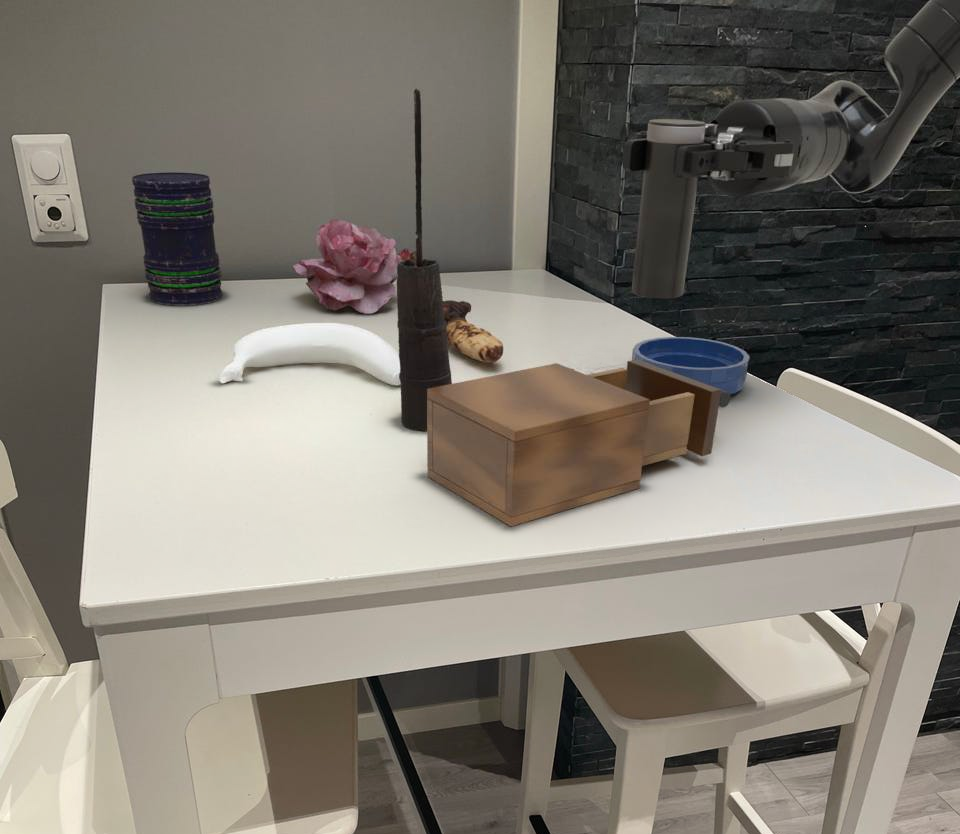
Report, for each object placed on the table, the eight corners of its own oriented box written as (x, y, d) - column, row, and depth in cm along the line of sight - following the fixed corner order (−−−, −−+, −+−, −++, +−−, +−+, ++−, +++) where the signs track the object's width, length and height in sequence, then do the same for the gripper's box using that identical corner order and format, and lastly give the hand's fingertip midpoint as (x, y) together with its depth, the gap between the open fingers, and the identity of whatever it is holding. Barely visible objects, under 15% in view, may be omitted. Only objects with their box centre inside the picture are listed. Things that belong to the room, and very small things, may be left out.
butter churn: (389, 399, 99) (380, 82, 84) (481, 407, 97) (489, 86, 82) (364, 430, 91) (351, 87, 76) (464, 438, 90) (470, 91, 75)
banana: (426, 375, 106) (346, 413, 95) (290, 355, 114) (202, 388, 103) (424, 329, 103) (342, 363, 92) (285, 312, 111) (194, 341, 100)
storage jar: (195, 285, 139) (181, 170, 131) (238, 297, 133) (226, 178, 125) (134, 296, 132) (115, 176, 124) (176, 309, 127) (159, 184, 119)
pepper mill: (694, 295, 83) (718, 123, 76) (657, 301, 80) (677, 124, 74) (657, 284, 86) (676, 118, 79) (620, 290, 84) (636, 120, 77)
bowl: (767, 390, 104) (773, 357, 102) (688, 410, 98) (693, 376, 96) (684, 362, 113) (688, 331, 111) (606, 378, 106) (609, 346, 104)
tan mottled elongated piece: (391, 339, 119) (443, 379, 105) (389, 300, 116) (441, 335, 102) (462, 331, 122) (521, 368, 108) (461, 292, 119) (521, 325, 105)
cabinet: (551, 445, 89) (556, 362, 85) (639, 488, 81) (650, 399, 77) (427, 476, 82) (426, 388, 78) (510, 526, 74) (515, 431, 70)
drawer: (660, 412, 95) (668, 352, 92) (742, 444, 88) (753, 381, 85) (527, 445, 86) (530, 380, 83) (606, 484, 79) (613, 415, 76)
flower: (270, 276, 132) (283, 203, 126) (360, 278, 141) (376, 210, 135) (325, 331, 125) (342, 256, 118) (416, 330, 134) (436, 260, 128)
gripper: (703, 93, 88) (585, 98, 78) (850, 104, 80) (740, 111, 70) (691, 183, 92) (578, 200, 82) (830, 202, 84) (724, 223, 74)
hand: (653, 159), depth 76 cm, fingers closed on pepper mill, 4 cm apart
